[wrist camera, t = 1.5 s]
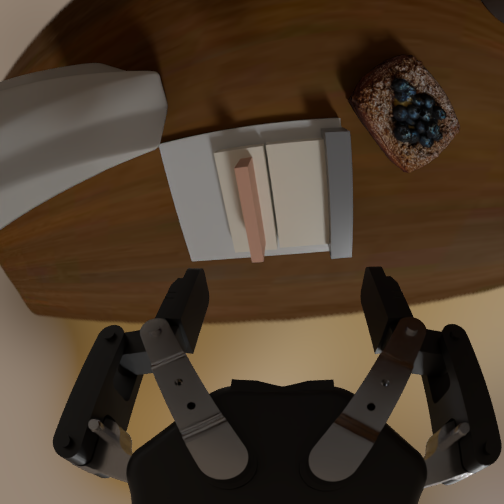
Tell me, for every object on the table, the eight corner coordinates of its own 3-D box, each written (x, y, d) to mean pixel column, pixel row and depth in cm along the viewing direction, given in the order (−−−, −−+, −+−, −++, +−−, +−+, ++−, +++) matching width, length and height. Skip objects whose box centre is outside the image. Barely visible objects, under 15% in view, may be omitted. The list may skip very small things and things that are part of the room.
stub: (263, 143, 27) (259, 153, 22) (277, 242, 33) (276, 268, 29) (217, 150, 28) (203, 162, 23) (237, 245, 34) (229, 271, 29)
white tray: (340, 117, 25) (349, 121, 22) (345, 246, 34) (351, 264, 30) (161, 143, 29) (146, 150, 25) (193, 258, 37) (184, 275, 34)
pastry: (399, 44, 19) (422, 37, 15) (456, 126, 23) (484, 136, 18) (334, 98, 24) (346, 99, 20) (399, 177, 28) (419, 195, 23)
